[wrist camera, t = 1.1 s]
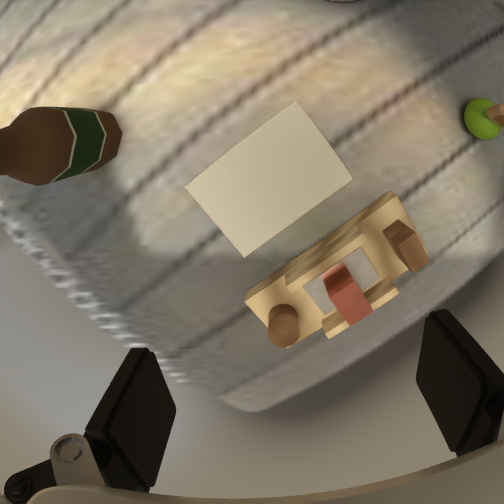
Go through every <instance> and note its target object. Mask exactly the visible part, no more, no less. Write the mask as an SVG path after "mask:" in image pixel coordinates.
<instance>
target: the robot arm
mask: <svg viewBox="0 0 504 504" xmlns="http://www.w3.org/2000/svg"><path fill="white" fill-rule="evenodd" d="M330 1H338V2H351V1H357V0H330ZM416 381H417V385H418V387H419V389H420V391H421V392H422V395H423V396H424V398H425V400H426V402H427V404H428V406H429V408H430V410H431V412H432V414H433V416H434V418H435V420H436V422H437V424H438V426H439V428H440V430H441V432H442V434H443V436H444V438H445V441H446V442H447V445H448V447H449V449H450V451H451V452H454V451H455V453H456V455H457V458H454V459H452V460H449V461H446V462H443V463H440V464H437V465H435V466H432V467H429V468H426V469H423V470H419V471H417V472H413V473H410V474H406V475H403V476H399V477H395V478H392V479H388V480H384V481H380V482H375V483H371V484H367V485H362V486H357V487H352V488H346V489H341V490H335V491H328V492H322V493H315V494H306V495H297V496H286V497H272V498H250V499H249V498H247V499H219V498H215V499H214V498H195V497H181V496H170V495H161V494H152V493H149V490H150V487H153V486H154V485H155V483H156V479H157V476H158V472H159V469H160V466H161V462H162V459H163V455H164V452H165V449H166V445H167V442H168V438H169V435H170V432H171V428H172V425H173V422H174V419H175V415H176V406H175V403H174V401H173V399H172V396H171V394H170V391H169V389H168V387H167V384H166V382H165V379H164V377H163V374H162V372H161V369H160V367H159V364H158V361H157V359H156V356H155V354H154V352H150V350H149V349H148V348H131V349H130V351H129V352H128V354H127V356H126V358H125V359H124V361H123V363H122V364H121V366H120V368H119V370H118V371H117V373H116V375H115V376H114V378H113V380H112V381H111V383H110V386H109V387H108V388H107V390H106V392H105V394H104V395H103V397H102V399H101V401H100V403H99V404H98V406H97V408H96V410H95V412H94V413H93V415H92V417H91V419H90V421H89V423H88V424H87V426H86V428H85V431H86V432H85V433H84V435H83V436H82V435H80V434H76V433H75V434H67V435H64V436H62V437H60V438H59V439H57V440H56V441H55V442H54V443H53V445H52V446H51V449H50V459H49V460H46V461H44V462H42V463H40V464H37V465H35V466H32V467H30V468H28V469H25V470H23V471H20V472H18V473H16V474H14V475H12V476H11V477H10V478H9V479H8V480H7V482H6V483H5V487H4V494H2V493H1V492H0V504H504V374H503V373H502V371H501V370H500V369H499V368H498V366H497V365H496V364H495V363H494V361H493V360H492V359H491V358H490V357H489V356H488V354H487V353H486V352H485V351H484V350H483V349H482V347H481V346H480V345H479V344H478V343H477V342H476V340H475V339H474V338H473V337H472V336H471V335H470V334H469V333H468V332H467V330H466V329H465V328H464V327H463V326H462V325H461V324H460V323H459V322H458V321H457V319H456V318H455V317H454V316H453V315H452V314H451V313H450V312H449V311H448V310H447V309H441V310H437V311H432V312H431V313H430V314H429V317H426V319H425V325H424V332H423V339H422V345H421V352H420V357H419V363H418V368H417V374H416Z"/></svg>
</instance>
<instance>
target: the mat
mask: <svg viewBox="0 0 504 504" xmlns="http://www.w3.org/2000/svg"><path fill="white" fill-rule="evenodd" d="M351 180H353V177H352V176H351V174H350V173H349V171H348V170H347V168H346V167H345V166H344V164H343V163H342V161H341V160H340V158H339V157H338V156H337V154H336V153H335V151H334V150H333V148H332V147H331V146H330V144H329V143H328V142H327V140H326V139H325V137H324V136H323V135H322V133H321V132H320V131H319V129H318V128H317V127H316V125H315V124H314V123H313V121H312V120H311V119H310V118H309V116H308V115H307V114H306V112H305V111H304V110H303V109H302V107H301V106H300V105H299V104H298V102H297V101H295V102H293V103H292V104H290V105H289V106H288V107H286V108H285V109H283V110H282V111H281V112H279V113H278V114H277V115H275V116H274V117H272V118H271V119H270V120H268V121H267V122H266V123H264V124H263V125H262V126H260V127H259V128H258V129H256V130H255V131H254V132H252V133H251V134H250V135H248V136H247V137H246V138H245V139H243V140H242V141H241V142H239V143H238V144H237V145H236V146H234V147H233V148H232V149H230V150H229V151H228V152H227V153H225V154H224V155H223V156H222V157H220V158H219V159H218V160H217V161H216V162H214V163H213V164H212V165H211V166H209V167H208V168H207V169H206V170H205V171H203V172H202V173H201V174H200V175H199V176H197V177H196V178H195V179H194V180H193V181H191V182H190V183H189V184H188V185H187V186H186V189H187V190H188V191H189V192H190V193H191V195H192V196H193V197H194V198H195V199H196V201H197V202H198V203H199V204H200V205H201V207H202V208H203V209H204V210H205V211H206V213H207V214H208V215H209V216H210V217H211V219H212V220H213V221H214V222H215V223H216V225H217V226H218V227H219V228H220V229H221V230H222V232H223V233H224V234H225V235H226V236H227V238H228V239H229V240H230V241H231V242H232V244H233V245H234V246H235V247H236V248H237V249H238V251H239V252H240V253H241V254H242V255H243V257H246V256H247V255H248V254H250V253H251V252H253V251H254V250H255V249H257V248H258V247H260V246H261V245H262V244H264V243H265V242H266V241H268V240H269V239H271V238H272V237H273V236H275V235H276V234H278V233H279V232H280V231H282V230H283V229H285V228H286V227H287V226H289V225H290V224H291V223H293V222H294V221H296V220H297V219H298V218H300V217H301V216H303V215H304V214H305V213H307V212H308V211H310V210H311V209H312V208H314V207H315V206H316V205H318V204H319V203H321V202H322V201H323V200H325V199H326V198H328V197H329V196H330V195H332V194H333V193H335V192H336V191H337V190H339V189H340V188H341V187H343V186H344V185H346V184H347V183H348V182H350V181H351Z"/></svg>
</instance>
